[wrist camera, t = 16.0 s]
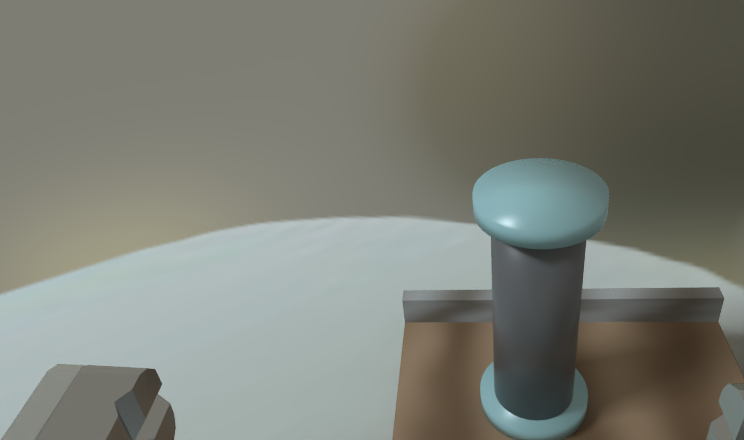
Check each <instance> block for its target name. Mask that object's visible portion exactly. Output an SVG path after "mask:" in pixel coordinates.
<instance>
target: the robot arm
mask: <svg viewBox="0 0 744 440" xmlns="http://www.w3.org/2000/svg"><path fill="white" fill-rule="evenodd" d="M161 385H162V383H161V381H160V378H159V376H158V374H157V372H156V370H155V369H148V368H131V367H113V366H94V365H68V364H57V365H56V366H54V367H53V368H51V369H50V370H48V371H47V373H46V374H45V375H44V377H43V378H42V380H41V381H40V383H39V384H38V386H37V387H36V389H35V390H34V392H33V393H32V395H31V396H30V398H29V399H28V400H27V402H26V403H25V405H24V406H23V408H22V409H21V411H20V412H19V414H18V415H17V417H16V418H15V420H14V421H13V423H12V424H11V426H10V427H9V429H8V430H7V432H6V433H5V434H4V436H3V437H2V439H1V440H174V435H175V428H176V427H175V418H174V413H173V410H172V407H171V405H170V403H169V402H168V401H166V400H165V399H164V398H162V397H161V396H160V395H158V392H159V390H160V387H161ZM718 402H719V404H720V407H721V409H722V412H723V415H721V416H720V417H718V418H717V419H715V420H714V421H712V422H711V424H710V428H709V431H708V435H707V438H706V440H744V383H729V384H728V385H726V386H725V387H724V388H723V390H722V392H721V395H720V398H719V401H718Z"/></svg>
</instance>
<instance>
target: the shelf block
mask: <svg viewBox="0 0 744 440" xmlns="http://www.w3.org/2000/svg"><path fill="white" fill-rule="evenodd" d="M723 301H724V297H723V295H722V293H721V291H720V288H719V287H716V288H618V289H582V295H581V307H580V319H579V331H578V342H577V354H576V366H575V368H576V369H577V370H578V372H579V373H580V374H581V375H582V377H583V379H584V381H585V383H586V386H587V390H588V402H587V412H586V416H585V419H584V421H583V423H582V425H581V426H580V428H579V429H578V430H577V431H576V432H575V433H573V434H572V435H571V436H569V437H567V438H566V439H563V440H706V438H707V435H708V431H709V428H710V424H711V422H712V421H714V420H715V419H717V418H718V417H720V416H721V415H723V412H722V409H721V407H720V404H719V402H718V401H719V398H720V395H721V392H722V390H723V388H724V387H725V386H726V385H728V384H729V383H744V377H743V375H742V373H741V371H740V369H739V366H738V364H737V362H736V360H735V358H734V355H733V353H732V351H731V349H730V347H729V344H728V342H727V340H726V338H725V336H724V333H723V331H722V329H721V327H720V325H719V322H718V320H719V317H720V313H721V309H722V305H723ZM403 309H404V317H405V328H404V337H403V347H402V356H401V365H400V375H399V384H398V393H397V403H396V412H395V421H394V431H393V440H514V439H511V438H509V437H507V436H505V435H504V434H502V433H501V432H499V431H498V430H497V429H496V428H494V427H493V426H492V425H491V423H490V422H489V421H488V419H487V418H486V416H485V414H484V412H483V410H482V406H481V396H480V383H481V379H482V376H483V374H484V372H485V370H486V369H487V367H488V366H489V365H490V364H491V363H492V362H493V361H494V356H493V307H492V290H421V291H404V292H403Z"/></svg>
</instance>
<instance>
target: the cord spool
mask: <svg viewBox="0 0 744 440" xmlns="http://www.w3.org/2000/svg"><path fill="white" fill-rule="evenodd" d="M608 202H609V190H608V188H607V185H606V183H605V182H604V181H603V179H601V178H600V177H599V176H598V175H597V174H596V173H594V172H593V171H591V170H589V169H588V168H585V167H583V166H581V165H578V164H575V163H572V162H568V161H563V160H557V159H547V158H546V159H545V158H532V159H522V160H517V161H512V162H508V163H504V164H502V165H499V166H497V167H494V168H492V169H490V170H489V171H487V172H486V173H484V174H483V175H482V176H481V177H480V178H479V179H478V180H477V182H476V184H475V186H474V188H473V212H474V217H475V221H476V222H477V224H478V226H479V227H480V228H481V229H482V230H483V231H484V232H485V233H487V234H488V235H489V236H491V258H492V307H493V356H494V361H493V362H492V363H491V364H490V365H489V366H488V367H487V369H486V370H485V372H484V374H483V376H482V379H481V383H480V396H481V406H482V410H483V412H484V414H485V416H486V418H487V419H488V421H489V422H490V423H491V425H492V426H493V427H494V428H496V429H497V430H498V431H499V432H501V433H502V434H504V435H505V436H507V437H509V438H511V439H514V440H563V439H566V438H567V437H569V436H571V435H572V434H573V433H575V432H576V431H577V430H578V429H579V428H580V426H581V425H582V423H583V421H584V419H585V416H586V412H587V402H588V390H587V386H586V383H585V381H584V379H583V377H582V375H581V374H580V373H579V372H578V370H577V369H576V368H575V366H576V354H577V342H578V331H579V319H580V307H581V295H582V283H583V272H584V260H585V248H586V240H587V239H589V238H591V237H592V236H594V235H595V234H596V233H597V232H599V231H600V229H601V228H602V227H603V225H604V224H605V222H606V219H607V211H608Z"/></svg>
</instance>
